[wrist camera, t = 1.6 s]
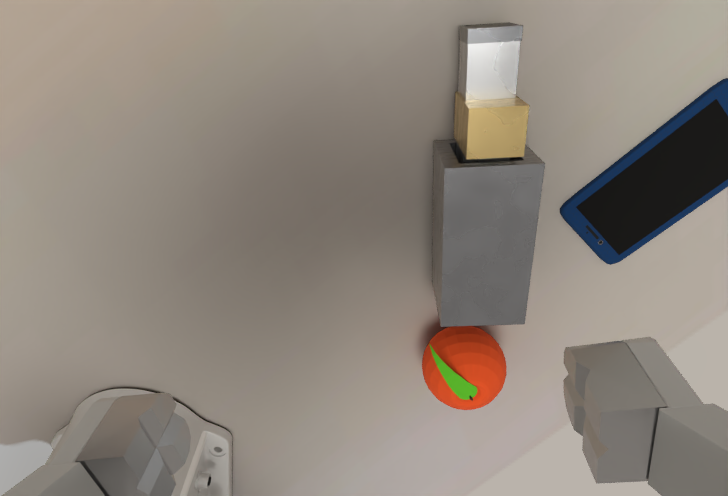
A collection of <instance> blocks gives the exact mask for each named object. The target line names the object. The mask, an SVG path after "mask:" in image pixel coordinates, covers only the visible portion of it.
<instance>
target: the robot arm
mask: <svg viewBox="0 0 728 496" xmlns="http://www.w3.org/2000/svg"><path fill="white" fill-rule="evenodd" d="M564 365H565V367H566V369H567V371H568V376H567V377H566V378H565V379H564V397H565V403H566V408H567V412H568V415H569V418H570V421H571V423H572V426H573V428H574V430H575V431H576V432H578V433H579V434H581V435H582V436H583V453H584V455H585V457H586V460H587V462H588V465H589V467H590V469H591V472H592V474H593V477H594V479H595V481H596V483H615V482H636V481H648V484H649V485H650V486H651V487H652V488H653V489H655V490H656V491H657V492H658V493H659V494H660V495H662V496H728V411H726V410H724V409H722V408H721V407H719V406H717V405H715V404H703V402H702V401H701V400H700V398H699V397H698V396H697V395H696V393H695V392H694V390H693V389H692V388H691V387H690V385H689V384H688V382H687V381H686V380H685V378H684V377H683V376H682V374H680V372H679V370H678V369H677V368H676V366H675V365H674V364H673V363H672V361H671V360H670V358H669V357H668V356H667V355H666V353H665V352H664V351H663V349H662V348H661V347H660V345H659V344H658V343H657V341H656V340H655V339H653V338H651V337H645V338H637V339H629V340H622V341H614V342H606V343H598V344H590V345H581V346H573V347H566V348H565V351H564ZM51 447H52V449H53V451H52V453H51V455H50V457H49V458H48V460H47V462H46V464H45V465H43V466H41V467H40V468H38V469H37V470H36V471H34V472H33V473H32V474H31V475H29V476H28V477H26V478H25V479H24V480H23V481H21V482H20V483H18V484H17V485H15V486H14V487H13V488H11V489H10V490H9V491H7V492H6V493H5V494H3V495H2V496H232V435H231V434H230V432H228V431H227V430H225V429H224V428H221V427H219V426H217V425H214V424H212V423H209V422H206V421H204V420H203V419H201V418H200V417H198V416H197V415H196V414H194V413H193V412H192V411H190V410H189V409H188V408H186V407H185V406H183V405H182V404H180V403H178V402H176V401H174V399H173V398H172V396H171V394H169V393H153V392H149V391H145V390H139V389H111V390H106V391H102V392H99V393H96V394H94V395H92V396H90V397H88V398H86V399H85V400H84V401H83V402H82V403H81V404H80V405H79V406H78V407H77V409H76V410H75V412H74V415H73V417H72V419H71V421H70V423H69V425H67V426H65V427H64V428H62V429H61V430H59V431H58V432H57V433H56V435H55V436H54V438H53V440H52V442H51Z"/></svg>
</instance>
